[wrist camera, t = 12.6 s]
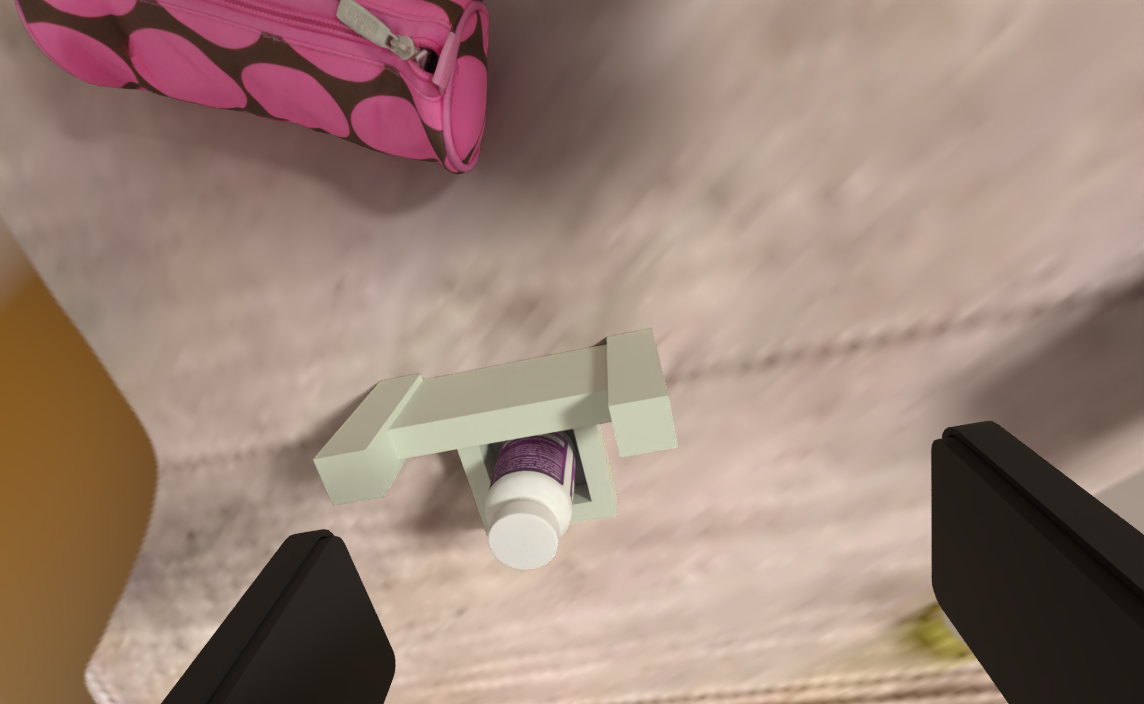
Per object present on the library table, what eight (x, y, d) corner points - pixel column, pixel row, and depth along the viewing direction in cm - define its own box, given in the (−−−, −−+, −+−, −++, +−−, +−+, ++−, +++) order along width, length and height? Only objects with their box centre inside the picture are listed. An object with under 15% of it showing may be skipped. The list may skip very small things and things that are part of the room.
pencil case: (516, -13, 31) (479, -71, 22) (491, 172, 35) (451, 189, 25) (118, -98, 30) (-95, -195, 21) (135, 99, 34) (-40, 90, 25)
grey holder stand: (379, 381, 40) (312, 459, 31) (651, 328, 38) (668, 395, 28) (433, 523, 44) (389, 630, 35) (680, 484, 42) (703, 587, 32)
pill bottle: (486, 440, 41) (454, 530, 32) (547, 404, 40) (532, 486, 31) (531, 494, 42) (512, 594, 33) (591, 461, 41) (588, 555, 32)
